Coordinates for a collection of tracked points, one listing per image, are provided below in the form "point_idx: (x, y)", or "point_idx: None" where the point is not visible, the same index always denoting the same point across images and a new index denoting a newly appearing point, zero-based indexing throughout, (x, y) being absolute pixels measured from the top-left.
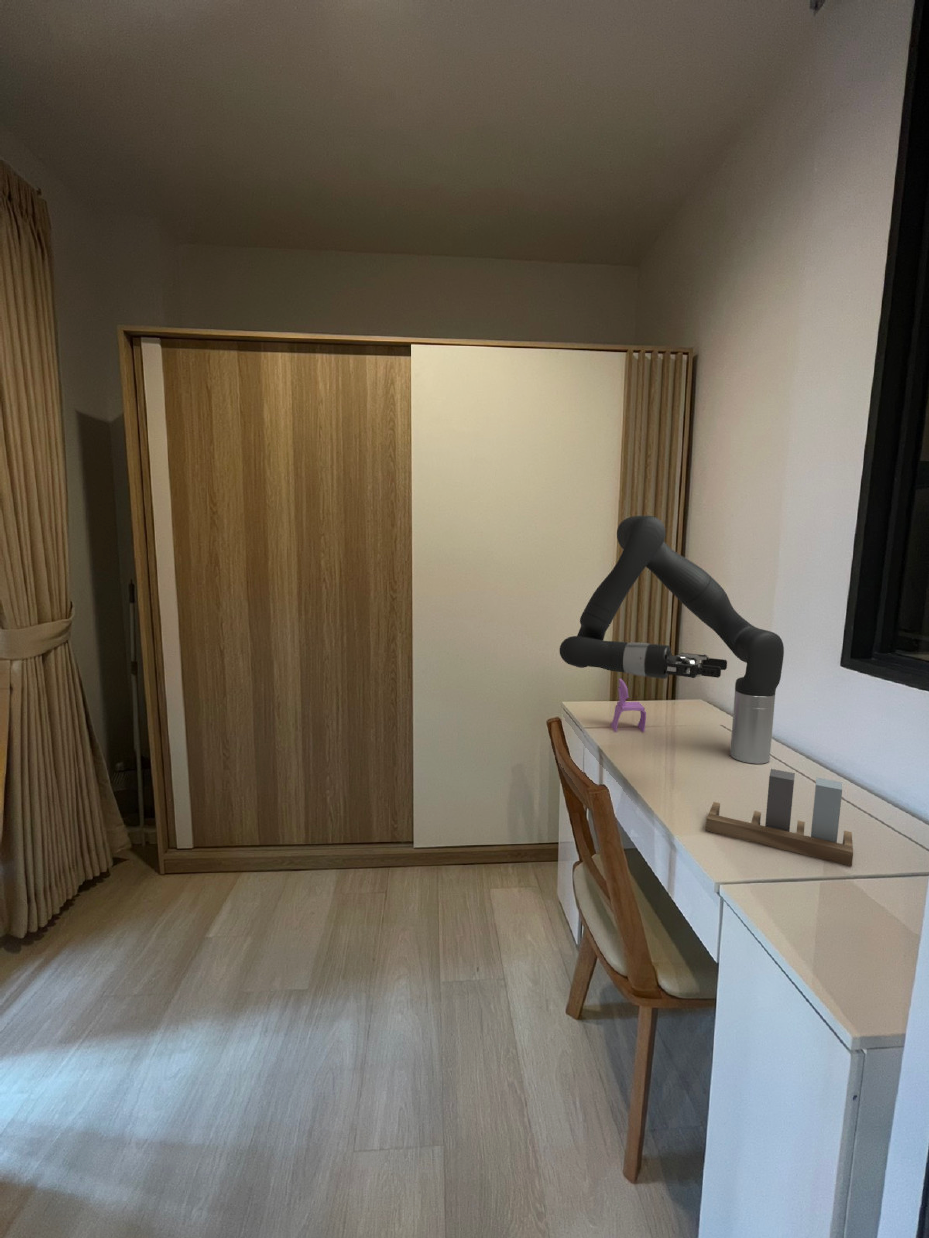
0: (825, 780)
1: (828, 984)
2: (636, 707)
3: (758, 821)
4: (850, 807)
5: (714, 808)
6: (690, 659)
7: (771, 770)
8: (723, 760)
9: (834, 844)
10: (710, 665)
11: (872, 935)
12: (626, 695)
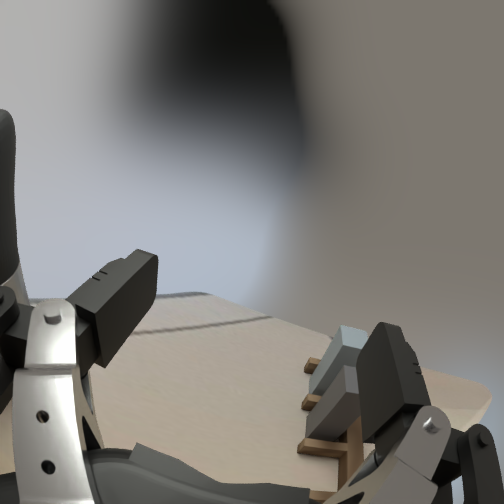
0: (347, 338)
1: (481, 403)
2: None
3: (338, 442)
4: (196, 333)
5: (325, 495)
6: (384, 493)
7: (353, 392)
8: None
9: None
10: (110, 344)
11: (432, 382)
12: None
